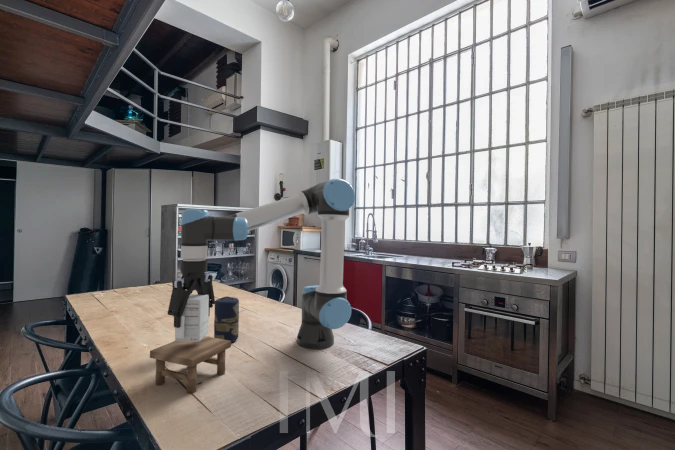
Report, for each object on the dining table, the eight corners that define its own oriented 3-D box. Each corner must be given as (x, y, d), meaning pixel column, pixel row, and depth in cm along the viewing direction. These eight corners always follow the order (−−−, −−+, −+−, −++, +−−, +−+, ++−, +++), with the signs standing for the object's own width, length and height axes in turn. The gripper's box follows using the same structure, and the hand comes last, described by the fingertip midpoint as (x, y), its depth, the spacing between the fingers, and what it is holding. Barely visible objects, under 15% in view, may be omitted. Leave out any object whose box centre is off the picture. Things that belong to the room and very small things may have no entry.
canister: (230, 346, 125) (231, 299, 125) (208, 343, 127) (209, 298, 127) (242, 337, 135) (243, 294, 135) (222, 335, 136) (223, 293, 137)
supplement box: (185, 333, 102) (186, 293, 102) (208, 333, 102) (209, 294, 102) (174, 341, 95) (175, 299, 95) (199, 342, 95) (200, 299, 95)
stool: (230, 371, 103) (230, 340, 103) (191, 396, 88) (192, 359, 88) (191, 363, 109) (192, 334, 109) (149, 385, 94) (149, 350, 94)
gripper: (210, 256, 110) (208, 321, 110) (153, 262, 90) (151, 342, 90) (227, 257, 107) (226, 324, 107) (173, 263, 87) (171, 346, 87)
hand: (192, 332), depth 99 cm, fingers closed on supplement box, 9 cm apart
